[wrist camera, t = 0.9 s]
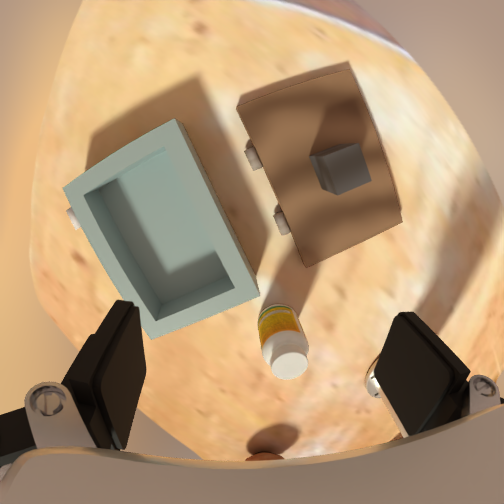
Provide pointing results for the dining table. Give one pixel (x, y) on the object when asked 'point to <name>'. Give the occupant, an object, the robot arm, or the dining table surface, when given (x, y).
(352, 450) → the robot arm
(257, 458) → the onion
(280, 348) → the supplement bottle
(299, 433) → the dining table surface
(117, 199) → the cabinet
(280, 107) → the door
